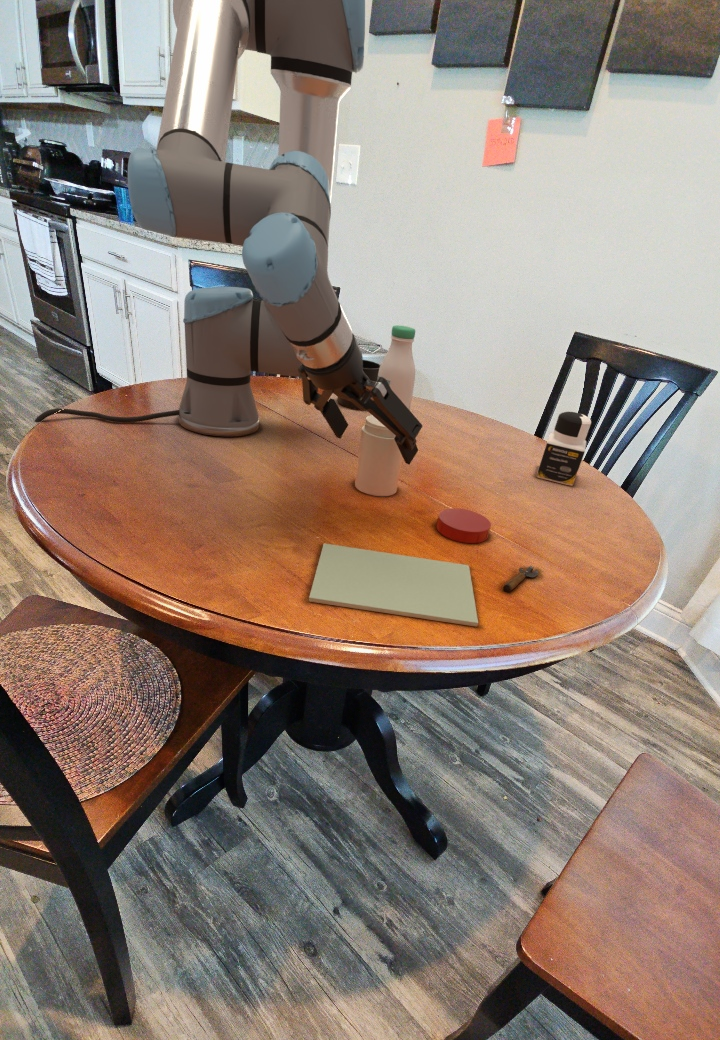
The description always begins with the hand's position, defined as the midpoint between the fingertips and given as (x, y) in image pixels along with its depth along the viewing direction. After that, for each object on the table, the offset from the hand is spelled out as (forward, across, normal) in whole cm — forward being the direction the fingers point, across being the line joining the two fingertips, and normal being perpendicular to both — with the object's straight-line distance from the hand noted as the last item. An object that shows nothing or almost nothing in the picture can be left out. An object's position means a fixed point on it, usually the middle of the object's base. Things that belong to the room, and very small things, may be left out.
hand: (376, 443), depth 93 cm
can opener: (0, +31, -12) cm, 33 cm away
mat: (-10, +20, -21) cm, 31 cm away
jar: (+7, 0, -4) cm, 8 cm away
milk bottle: (+27, -17, +16) cm, 36 cm away
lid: (+4, +18, -5) cm, 19 cm away
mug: (+33, -33, +22) cm, 52 cm away
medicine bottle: (+32, +19, +21) cm, 43 cm away
